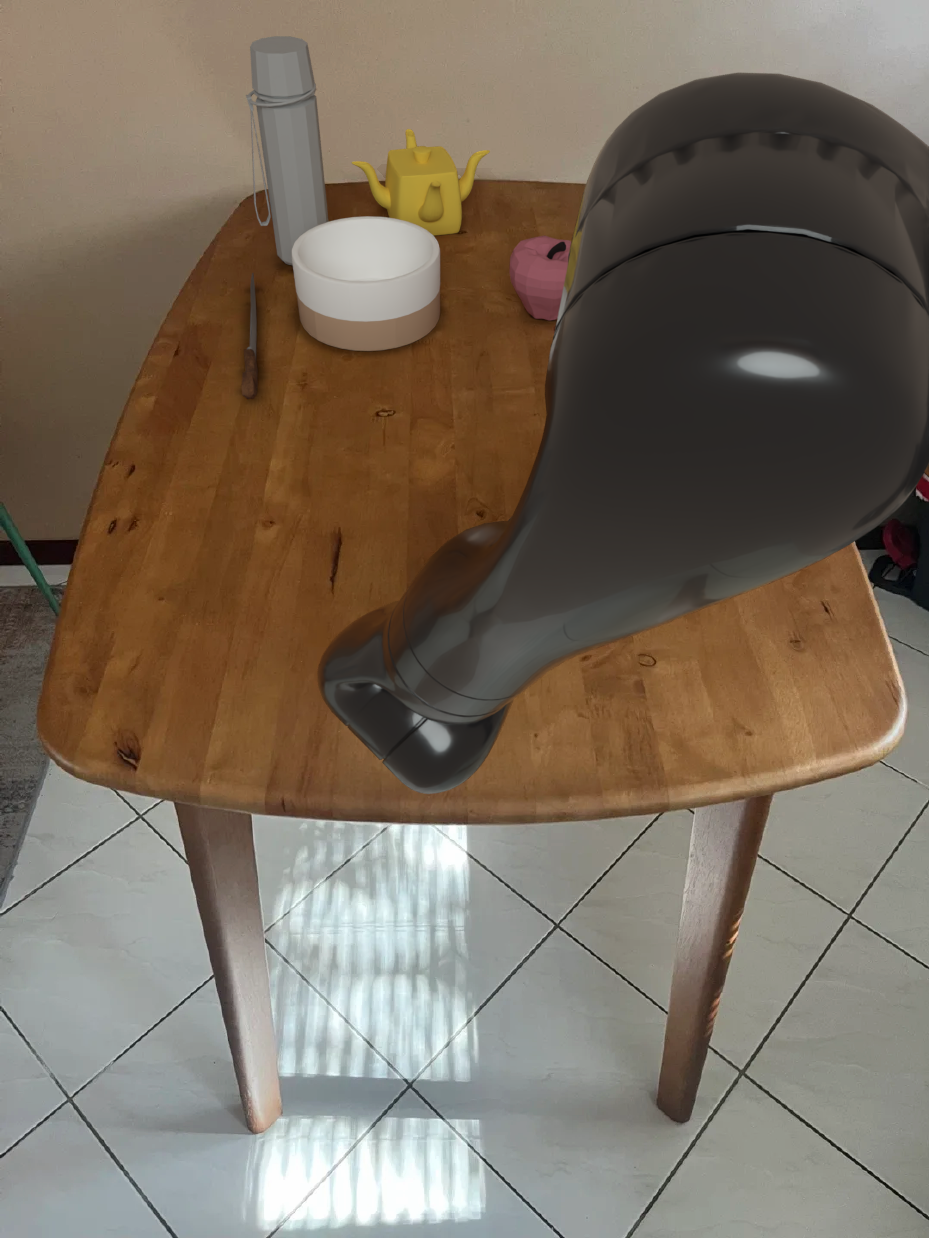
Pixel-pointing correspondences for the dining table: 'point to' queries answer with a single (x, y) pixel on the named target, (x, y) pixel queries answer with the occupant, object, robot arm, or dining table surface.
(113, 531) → the dining table surface
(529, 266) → the apple
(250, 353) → the knife
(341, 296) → the bowl
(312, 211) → the water bottle
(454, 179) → the teapot
